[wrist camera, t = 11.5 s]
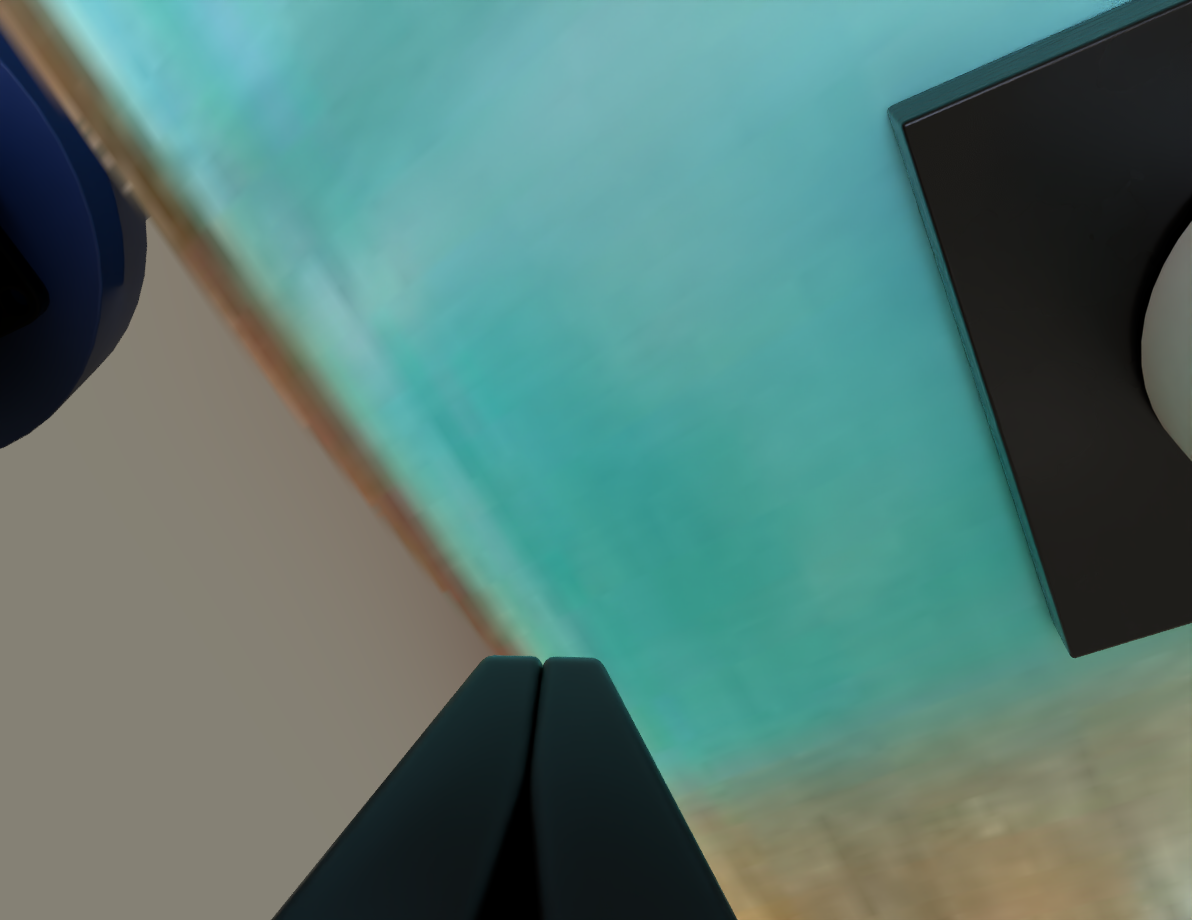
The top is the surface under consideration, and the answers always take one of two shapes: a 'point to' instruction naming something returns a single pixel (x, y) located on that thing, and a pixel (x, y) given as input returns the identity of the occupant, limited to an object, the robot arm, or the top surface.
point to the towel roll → (1171, 344)
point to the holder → (1071, 297)
